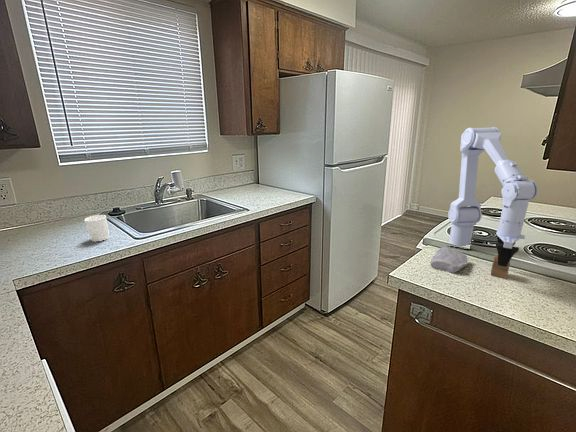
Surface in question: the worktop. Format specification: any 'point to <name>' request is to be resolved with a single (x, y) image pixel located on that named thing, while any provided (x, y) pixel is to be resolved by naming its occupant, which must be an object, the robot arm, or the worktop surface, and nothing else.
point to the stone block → (449, 260)
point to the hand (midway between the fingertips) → (502, 260)
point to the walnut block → (499, 269)
